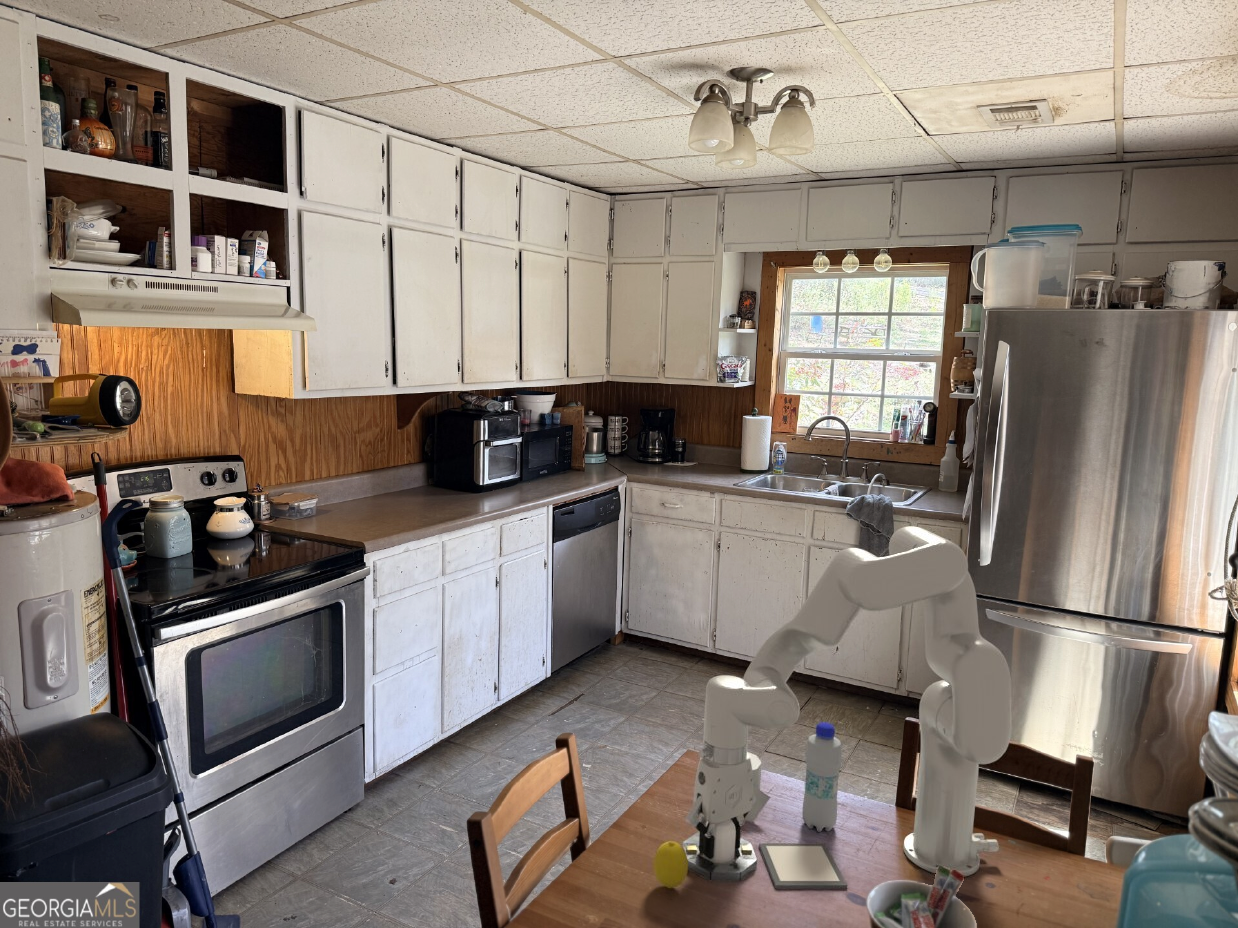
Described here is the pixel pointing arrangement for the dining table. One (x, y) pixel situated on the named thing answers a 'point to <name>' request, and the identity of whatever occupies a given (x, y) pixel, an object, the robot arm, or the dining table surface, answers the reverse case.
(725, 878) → the socket ring
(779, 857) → the mat
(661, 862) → the lemon
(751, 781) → the robot arm
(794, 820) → the dining table surface
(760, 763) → the toilet tissue
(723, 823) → the capsule
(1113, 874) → the dining table surface
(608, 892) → the dining table surface
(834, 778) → the bottle
